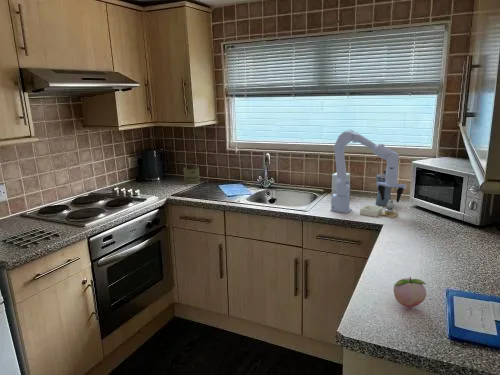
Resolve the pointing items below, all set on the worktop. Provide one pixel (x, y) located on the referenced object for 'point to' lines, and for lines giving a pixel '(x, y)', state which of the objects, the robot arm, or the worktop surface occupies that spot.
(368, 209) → the tray
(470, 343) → the worktop surface
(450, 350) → the worktop surface
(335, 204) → the robot arm
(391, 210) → the coffee tamper
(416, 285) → the decorative fruit
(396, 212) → the stud block
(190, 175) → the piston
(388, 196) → the moka pot
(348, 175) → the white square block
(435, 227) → the worktop surface
